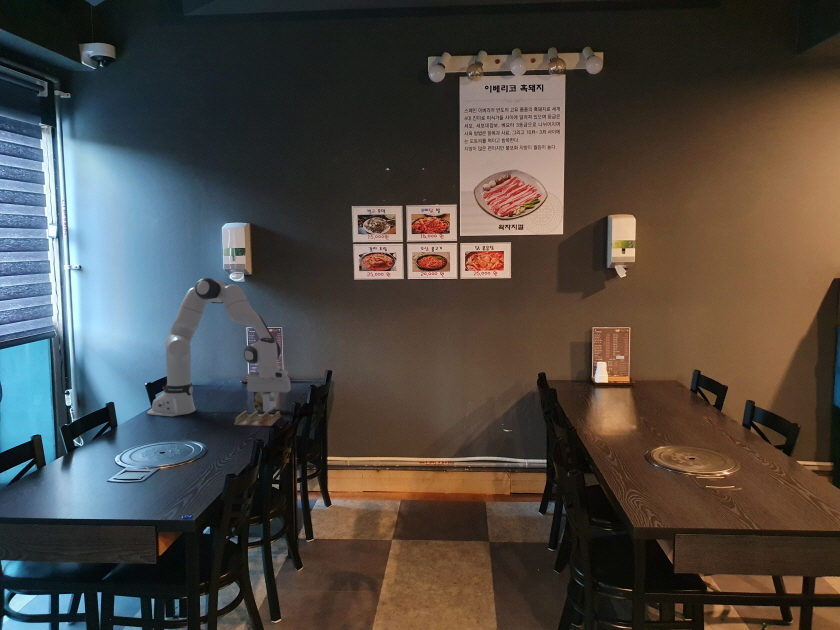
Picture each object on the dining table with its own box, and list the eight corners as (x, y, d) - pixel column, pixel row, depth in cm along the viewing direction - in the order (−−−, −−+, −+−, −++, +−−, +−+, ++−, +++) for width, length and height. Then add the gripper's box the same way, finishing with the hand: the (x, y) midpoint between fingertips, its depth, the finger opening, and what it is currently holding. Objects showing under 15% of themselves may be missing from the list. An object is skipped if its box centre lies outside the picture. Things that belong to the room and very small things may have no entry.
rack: (234, 425, 276) (234, 418, 275) (245, 415, 291) (245, 409, 290) (270, 425, 275) (270, 419, 274) (280, 416, 290) (280, 410, 289)
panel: (263, 411, 277) (262, 394, 276) (269, 405, 287) (269, 389, 286) (269, 411, 277) (268, 394, 276) (275, 405, 287) (275, 389, 286)
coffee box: (253, 411, 298) (252, 380, 297) (258, 408, 305) (257, 377, 303) (271, 412, 298) (270, 380, 296) (275, 408, 304) (274, 378, 302)
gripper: (244, 373, 277) (245, 402, 279) (287, 374, 276) (288, 403, 278) (249, 370, 284) (250, 398, 285) (291, 371, 282) (292, 399, 284)
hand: (269, 400), depth 282 cm, fingers closed on panel, 3 cm apart
